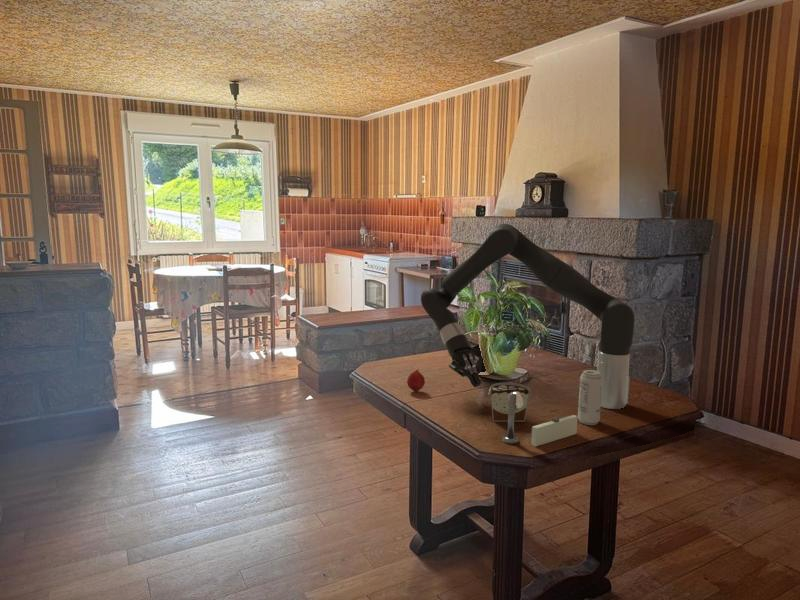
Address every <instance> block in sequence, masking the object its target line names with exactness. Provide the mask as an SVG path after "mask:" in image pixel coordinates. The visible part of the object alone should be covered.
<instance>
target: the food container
mask: <svg viewBox="0 0 800 600" xmlns="http://www.w3.org/2000/svg"><path fill="white" fill-rule="evenodd" d="M517 391H518V392H520V393H521V394H522V395H523V397H524V406H523V407H522V408H519V409H515V416H514V422H526V416H527V410H528V405H529V404H528V403H529V397H530V396H532V393H531V391H532V390H531V387H528V385H525V384H522V383H517V382H504V381H503V382H497V383H493V384H491V386H490V388H489V390H488V396H490V403H491V404H490V405H491V417H492V419H491V420H492V422H499V423H500V422H504V423H505V422H507V423H508V411H509V402H508V396H509V393H512V392H517Z"/></svg>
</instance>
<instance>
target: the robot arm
mask: <svg viewBox="0 0 800 600" xmlns="http://www.w3.org/2000/svg"><path fill="white" fill-rule="evenodd" d="M507 255H509V256H510V257H511V256H512V257H513V258H515V259H516V260H517V261H519V262H521V263H522V264H523V265H524V266H525V267H526V268H527V269H528V270H529V271H530V272H531V273H532V275H534V276H535V278H537V280H538V281H539V282H541V283H542V284H543V285H544V286H546V287H547V288H549V289H550V290H552V291H553V292H555V293H556V294H558V295H560V296H561V297H563V298H566V299H567V300H569V301H572V302H573V303H576V304H578V305H580V306H581V307H583V308H585V309H586V310H587V311H589V312H590V313H591V314H593V315H594V316H595V317H596V318H597V319H599V320H600V322H601V328H600V329H601V330H600V337H599V338H600V340H599V342H598V353H597V365H596V366H597V367H596V371H599V372H600V373H601V374H600V375H601V377H602V394H601V408H603V409H608V410H609V409H610V410H622V409H621V408H623V409H624V407H625V406H626V407H627V405H628V400H629V389H630V378H631V377H630V375H629V371H630V370H629V369H630V358H631V349H632V346H633V345H632V344H633V341H634V340H633V339H634V338H633V337H634V331H635V313H634V311H633V309H632V308H631V307H630V306H629V305H628V304H627V303H626V302H625V301H622V300H621V299H618V298H617V297H615V296H613V295H611V294H609V293H607V292H605V291H604V290H601V289H600V288H599V287H597V286H596V285H594V284H593V283H592V282H591V281H589V279H588V278H586V277H585V276H584V275H583V274H581V273H580V272H579V271H578V270H577V269H575V268H573V267H572V266H571V265H569V264H568V263H566V262H565V261H564V260H561V259H560V258H558V257H557V256H555V255H554V254H552V253H551V252H549V251H547V250H545V249H543V248H542V247H541V246H539V245H537V244H536V243H534V242H533V241H532V240H531V239H529V238H528V237H527V236H526V235H525V234H523V233H522V232H521V231H520V230H518V228H516V227H515V226H513V225H512V224H508V223H500V224H497V225H496V226H494V227H493V229H492V230H491V231H490V232H489V234H488V235H487V237H486V239H485V240H484V241H483V243H482V244H481V245H480V246H479V247H478V249H477V250H476V251H475V252H474V253H473V254H472V255H471V256H469V257H468V258H467V259H465V260H464V261H462V262H461V263H460V264H458V265H457V266H456V267H455V268H453V269H452V270H451V271H450V272H449V273H448V274H447V275H446V276H445V277H444V278H443V279H442V281H441V286H442V287H441V289H435V288H426V289H424V290H423V291H422V293H421V294H420V303H421V306H422V308H423V309H424V310H425V313H426V314H427V315H428V316H429V318H430V319H431V320H432V321H433V322H434V324H435V326H436V328H437V330H438V332H439V334H440V337H441V341H442V342H443V345H444V346H445V348H446V351H447V352H448V355H449V357H451V363H449V365H448V368H450V369H451V370H453V371H454V372H455V373H457V374H458V375H459V376H461V377H463V378H464V377H466V378H467V379H468V380H469V382H470V384H471V386H473V387H474V388H478V387H481V385H482V380H481V378H480V377H479V375H478V372H479V371H481V366H482V360H483V358H482V357H481V356H480V357H477V356H475V354H474V353H473V352H472V350H471V347H472V345H471V343H470V341H469V340H468V338H467V335H466V334H465V331H464V330H463V328H462V327H461V325H460V324H459V322H458V319H457V318H456V316H455V314H454V312H453V311H452V310H450V309H448V307H450V306H451V304H452V303H453V302H454V300H455V299H456V297H457V296H458V294H459V293H460V292H461V291H463V290H464V289H465V288H466V287H468V285H470V284H471V283H472V282H473V281H474V280H475V279H476V278H477V277H478V276H480V275H481V274H482V273H483V272H484V271H485V270H486V269H487V268H488V267H490V266H491V265H493V264H495V263H496V262H497V261H499V260H500V259H502V258H504V257H506V256H507ZM626 404H627V405H626ZM626 407H625V408H626Z"/></svg>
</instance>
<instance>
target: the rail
mask: <svg viewBox="0 0 800 600" xmlns="http://www.w3.org/2000/svg"><path fill="white" fill-rule="evenodd" d="M577 429H578V415H575V414H572V415H571V414H570V415H569V416H568V415H567V416H564V417H561V418H558V417H556V416H554V417H552V418H551V421H547V422H543V423H540V424H537V425H533V426H531V438H530V439H531V442H530V445H531V446H533V447H534V448H536V447H539V446H541V445H545V444H548V443H551V442H554V441H558V440H561V439H565V438H568V437H570V436H574V435H577V432H578V430H577Z"/></svg>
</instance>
